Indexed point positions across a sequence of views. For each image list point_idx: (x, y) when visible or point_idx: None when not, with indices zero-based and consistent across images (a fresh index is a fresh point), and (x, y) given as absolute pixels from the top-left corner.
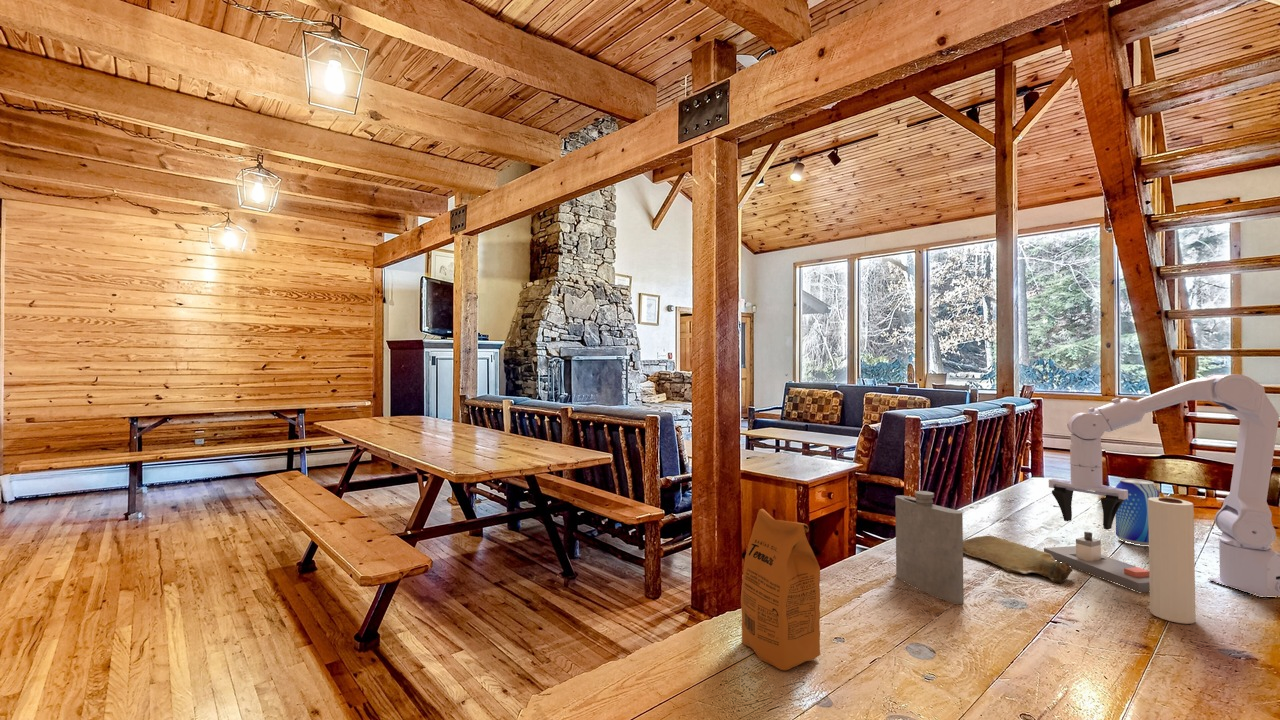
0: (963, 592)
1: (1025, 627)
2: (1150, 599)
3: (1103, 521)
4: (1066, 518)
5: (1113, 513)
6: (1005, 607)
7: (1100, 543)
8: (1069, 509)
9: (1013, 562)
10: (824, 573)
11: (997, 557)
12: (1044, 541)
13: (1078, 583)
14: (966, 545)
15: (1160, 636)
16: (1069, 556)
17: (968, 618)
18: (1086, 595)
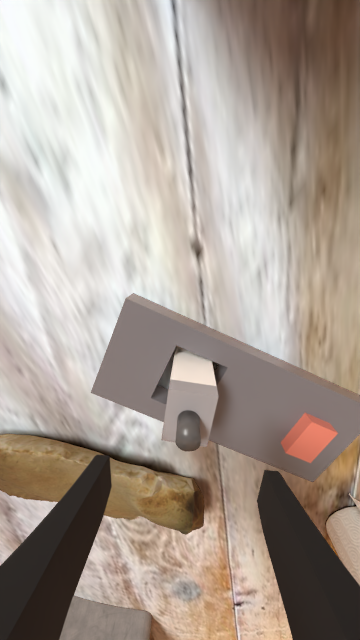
0: (148, 636)
1: (222, 625)
2: (341, 561)
3: (272, 559)
4: (104, 505)
5: (344, 592)
6: (186, 602)
7: (216, 390)
8: (77, 535)
9: (113, 514)
10: None
11: None
12: (16, 226)
13: (214, 483)
14: (3, 488)
15: None
16: (160, 414)
17: (176, 635)
18: (240, 520)
